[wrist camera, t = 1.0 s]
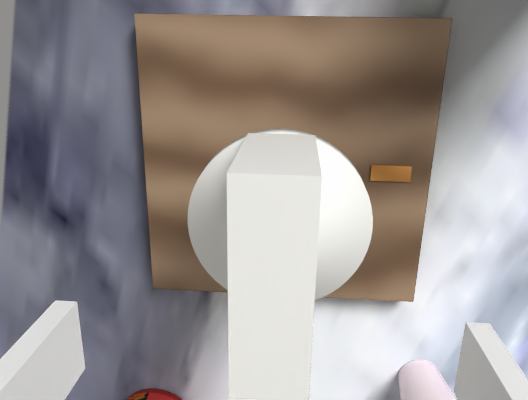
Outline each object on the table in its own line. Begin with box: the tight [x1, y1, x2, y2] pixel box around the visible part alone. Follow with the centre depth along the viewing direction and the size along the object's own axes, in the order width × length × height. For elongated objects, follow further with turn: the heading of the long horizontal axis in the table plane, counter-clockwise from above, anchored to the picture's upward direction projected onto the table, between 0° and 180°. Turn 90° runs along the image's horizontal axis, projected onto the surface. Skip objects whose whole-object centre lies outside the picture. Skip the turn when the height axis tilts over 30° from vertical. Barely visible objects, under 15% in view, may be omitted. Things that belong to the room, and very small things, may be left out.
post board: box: [134, 14, 452, 302], centre depth 33 cm, size 22×22×12 cm
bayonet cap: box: [188, 128, 373, 400], centre depth 23 cm, size 12×10×9 cm
